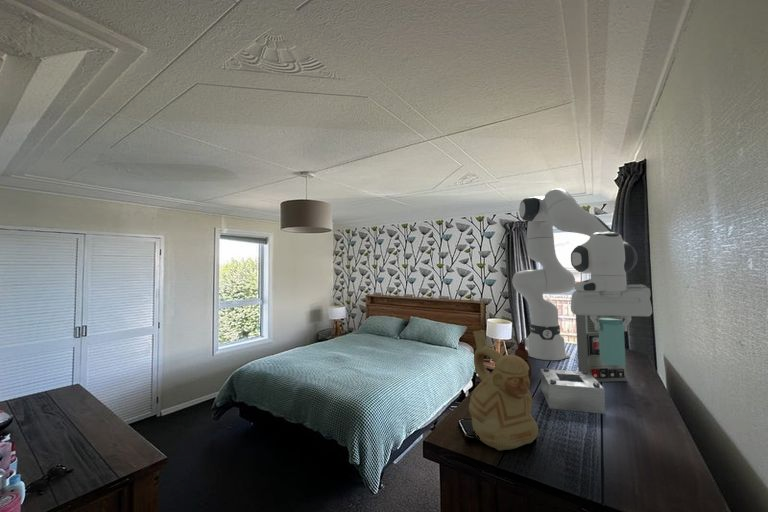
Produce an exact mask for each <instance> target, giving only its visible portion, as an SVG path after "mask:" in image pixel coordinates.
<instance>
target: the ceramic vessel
mask: <svg viewBox="0 0 768 512" xmlns="http://www.w3.org/2000/svg"><path fill="white" fill-rule="evenodd" d="M472 333H473V337H474V340H475V345H476V350H474V351H475V352H474V354H473V365H474V369H475V372H476V374H477V376H478V378H479V379H480V380H481V382H479V383H478V384H477V386H476V387H475V388H474V389H473V391H472V394H471V396H470V399H469V404H468V411H469V414H470V415H471V425H472V430H473V432H474V431H475V433H476V434H477V435H478V436H479V437H480V439H479V441H481V442H482V443H483V444H485V445H487V446H488V447H490V448H493V449H495V450H497V452H498V451H505V450H508V451H509V450H514V449H517V448H519V447H522V446H525V445H527V444H531V443H533V442H534V440H537V437H538V436H539V426H538V423H537V422H536V419H534V417H533V415H532V413H531V411H532V409H533V397H532V393H531V391H530V386H531V378H530V379H529V377H528V371H529V366H528V364H527V363H526V362H525V361H524V360H523V359H522V358H520V357H518V356H515V354H504V355H503V354H502V353H501V352H500V351H498V350H496V349H494V348H492V347H489V346H488V345H487V341H486V334H485V333H486V332H485V330H484V329H480V330H474V331H472ZM485 356H486V357H488V358H490V359H491V360H492V361H493V363H494V365H495V366H494V368H493V371H491V373H490V372H489V371H488V370H487V368H486V366H485V363H484V357H485ZM475 433H474V435H475V436H476V437H477V435H476V434H475Z"/></svg>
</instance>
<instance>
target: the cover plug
mask: <svg viewBox="0 0 768 512" xmlns="http://www.w3.org/2000/svg"><path fill="white" fill-rule="evenodd" d="M623 322H624V319H623V320H620V319H612V318H600V319H598V324H601V325H602V330H599V350H600V360H601V361H602V362H603V363H604V364H606V365H621V366H625V367H626V365H627V364H626V360H627V359H626V347H625V344H626V343H625V331H624V324H623Z"/></svg>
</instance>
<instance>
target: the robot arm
mask: <svg viewBox="0 0 768 512" xmlns="http://www.w3.org/2000/svg"><path fill="white" fill-rule="evenodd" d="M518 212H519V216H520V218H521V219H522V220H523V221H526V222H527V229H526V243H527V255H528V258H529V259H530V260H532V261H534V262H536V263H539V264H540V265H541V267H542V269H524V270H520V271H517V272H515V273H514V274H513V276H512V279H511V282H512V286H513V289H514V290H515V291H516V292H517V293H519V294H520V295H521V296H522V297H523V298H524V299H525V300H526V301H527V304H528V308H529V312H530V322H531V323H530V325H529V326H530V327H529V329H530V330H529V331H530V334H529V335H528V336H527V337H526V338H525V339H524V340H525V349H526V350H527V351H528V354H529V357H531V358H534V359H537V360H542V361H543V360H544V361H561V360H564V359H569V358H570V354H569V353H567V352H566V342H565V338H564V337H563V336H562V335H561V327H560V326H561V325H560V324H559V310H558V307H557V306H556V304H554V303H552V302H550V301H548V300H546V299H545V298H544V294H546V295H547V294H549V295H550V294H553V295H554V294H563V293H569V292H571V291H573V290H574V291H573V292H572V294H571V297H570V298H571V299H570V311H571V312H572V314H574V315H575V316H576V315H590V319H591V320H592V321H593V323H594V324H595V330H602V325H601V324H598V323H597V321H596V320H595V319H597V315H598V316H623V324H624V332H628V325H629V324H630V323H631V322H632V317H651V315H652V314H653V307H652V303H651V289H650V287H648V286H647V285H645V284H641V283H640V284H628V283H627V273H629V272H630V271H632V270H633V269H634V267H636V265H637V263H638V257H639V256H638V253H637V251H636V249H635V248H634V247H633V246H632V245H631V244H629V243H628V242H626V241H625V240H624V239H623V237H622V235H621V234H620V233H619V232H615V231H613V229H611V228H610V227H609V226H608V225H607V224H606V223H605V222H604V221H602V219H601V218H599V217H598V216H596V215H595V214H592V213H590V212H589V211H587V210H586V209H584V208H583V207H582V206H581V205H580V204H579V203H578V202H577V201H576V199H575V198H574V197H573V196H572V195H571V194H570V193H569V192H568V191H567V190H565V189H563V188H553V189H550V190H549V191H548V192H546V194H545V195H540V196H529V197H526V198H523V199H522V200H521V202H520V203H519V209H518ZM554 228H556V229H557V230H558V231H561V232H566V233H574V234H580V235H584V236H589V239H588V240H587V241H585V242H584V243H582V244H581V245H576V246H575V247H574V249H573V250H572V251H571V253H570V263H571V266H572V267H573V268H574V270H576V271H577V272H579V273H582V274H583V273H584V274H590V278H589V279H586V280H582V281H579V282H576V279H575V278H576V277H575V276H574V274H573V273H572V271H570V270H569V269H567V268H566V267H564V266H563V264H561V262H560V261H559V259H558V257H557V254H556V249H555V247H556V246H555V236H554Z"/></svg>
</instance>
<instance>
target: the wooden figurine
mask: <svg viewBox="0 0 768 512" xmlns="http://www.w3.org/2000/svg"><path fill="white" fill-rule="evenodd" d="M525 347H526V342H525V339H523V340H522V339H520V342H519V343H517V348H516V349H515V350H514V355H515V356H518V357H520V358H522V359H523V360H524V361H525V362H526V363H527V364H528V366H529V371H528V377H529V379H530V380H531V377H532V364H531V362H530V360H528V359H529V357H530V356H529V354H528V351H527V350H526V349H525Z"/></svg>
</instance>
